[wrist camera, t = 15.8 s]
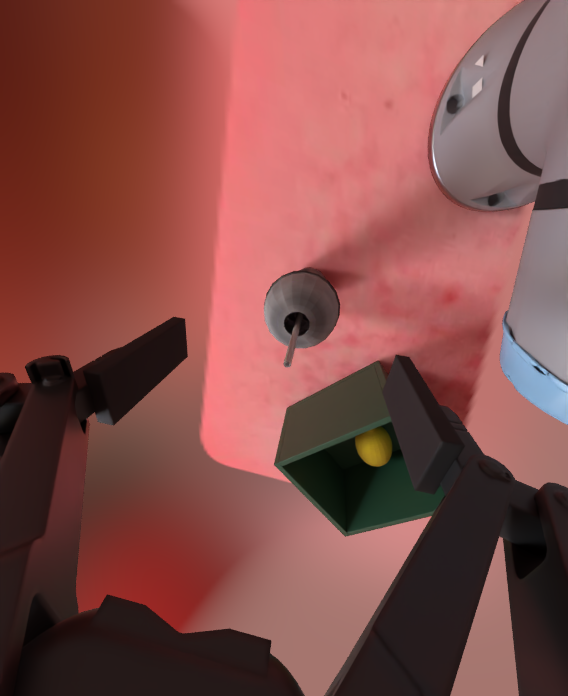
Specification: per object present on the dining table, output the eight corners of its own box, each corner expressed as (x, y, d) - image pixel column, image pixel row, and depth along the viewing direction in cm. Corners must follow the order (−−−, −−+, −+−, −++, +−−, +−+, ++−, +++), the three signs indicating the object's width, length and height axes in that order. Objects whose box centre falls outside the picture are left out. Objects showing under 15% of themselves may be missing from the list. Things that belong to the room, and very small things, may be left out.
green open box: (378, 360, 37) (397, 412, 27) (432, 437, 42) (466, 507, 31) (286, 408, 44) (273, 464, 33) (341, 469, 48) (345, 536, 38)
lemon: (376, 443, 35) (383, 483, 38) (395, 420, 38) (401, 458, 41) (344, 428, 39) (353, 465, 42) (364, 409, 42) (370, 444, 45)
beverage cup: (341, 260, 32) (358, 302, 14) (331, 313, 35) (334, 402, 17) (285, 253, 33) (235, 285, 15) (280, 306, 36) (234, 385, 18)
